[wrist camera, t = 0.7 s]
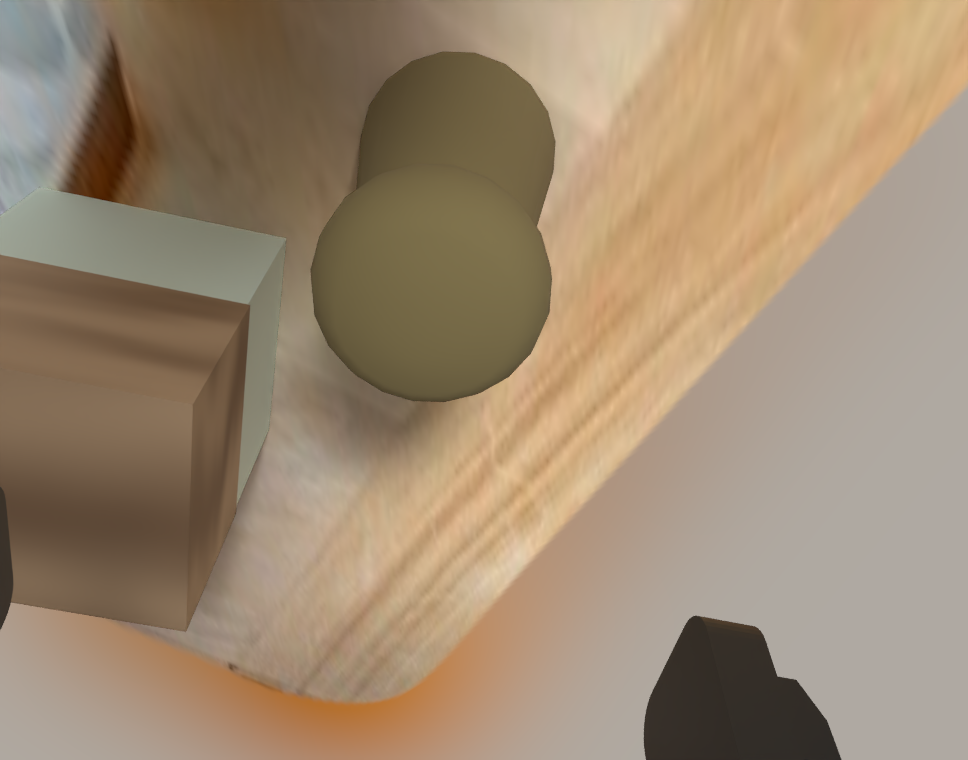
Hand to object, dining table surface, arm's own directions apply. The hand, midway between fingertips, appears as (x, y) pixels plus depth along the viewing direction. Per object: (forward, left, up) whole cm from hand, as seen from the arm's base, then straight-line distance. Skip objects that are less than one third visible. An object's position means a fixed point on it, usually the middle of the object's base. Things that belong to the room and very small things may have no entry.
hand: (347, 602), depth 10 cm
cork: (+1, 0, -19) cm, 19 cm away
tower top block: (+9, -9, -14) cm, 19 cm away
